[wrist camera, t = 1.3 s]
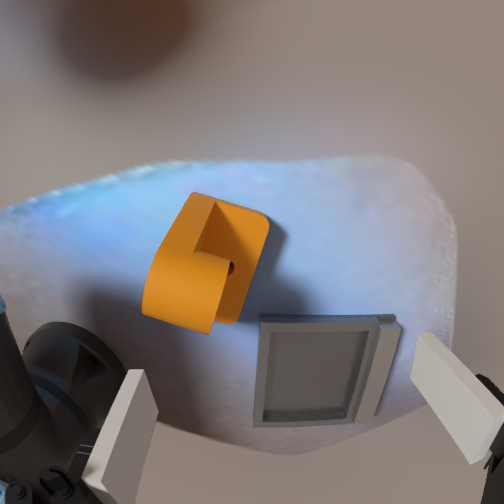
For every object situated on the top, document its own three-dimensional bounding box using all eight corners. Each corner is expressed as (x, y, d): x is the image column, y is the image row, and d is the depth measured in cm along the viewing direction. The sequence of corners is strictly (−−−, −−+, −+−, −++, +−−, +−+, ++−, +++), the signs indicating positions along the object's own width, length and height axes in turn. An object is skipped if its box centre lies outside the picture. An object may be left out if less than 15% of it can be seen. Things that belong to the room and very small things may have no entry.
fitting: (253, 417, 36) (253, 431, 34) (260, 314, 32) (261, 325, 30) (365, 412, 37) (370, 424, 34) (393, 314, 33) (402, 324, 30)
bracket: (236, 314, 32) (231, 388, 21) (168, 293, 32) (132, 359, 20) (270, 214, 30) (285, 245, 18) (195, 191, 29) (163, 207, 17)
